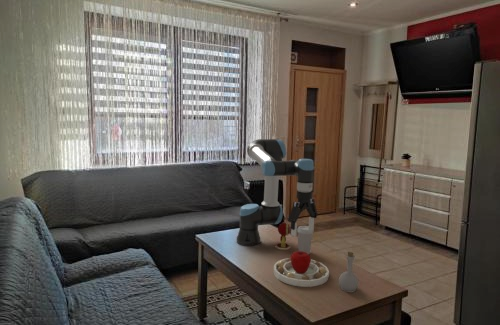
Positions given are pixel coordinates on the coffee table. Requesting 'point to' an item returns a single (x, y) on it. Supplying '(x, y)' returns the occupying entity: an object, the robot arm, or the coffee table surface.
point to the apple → (300, 261)
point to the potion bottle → (348, 276)
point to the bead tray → (301, 274)
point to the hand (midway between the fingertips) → (302, 232)
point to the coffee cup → (304, 239)
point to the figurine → (283, 236)
